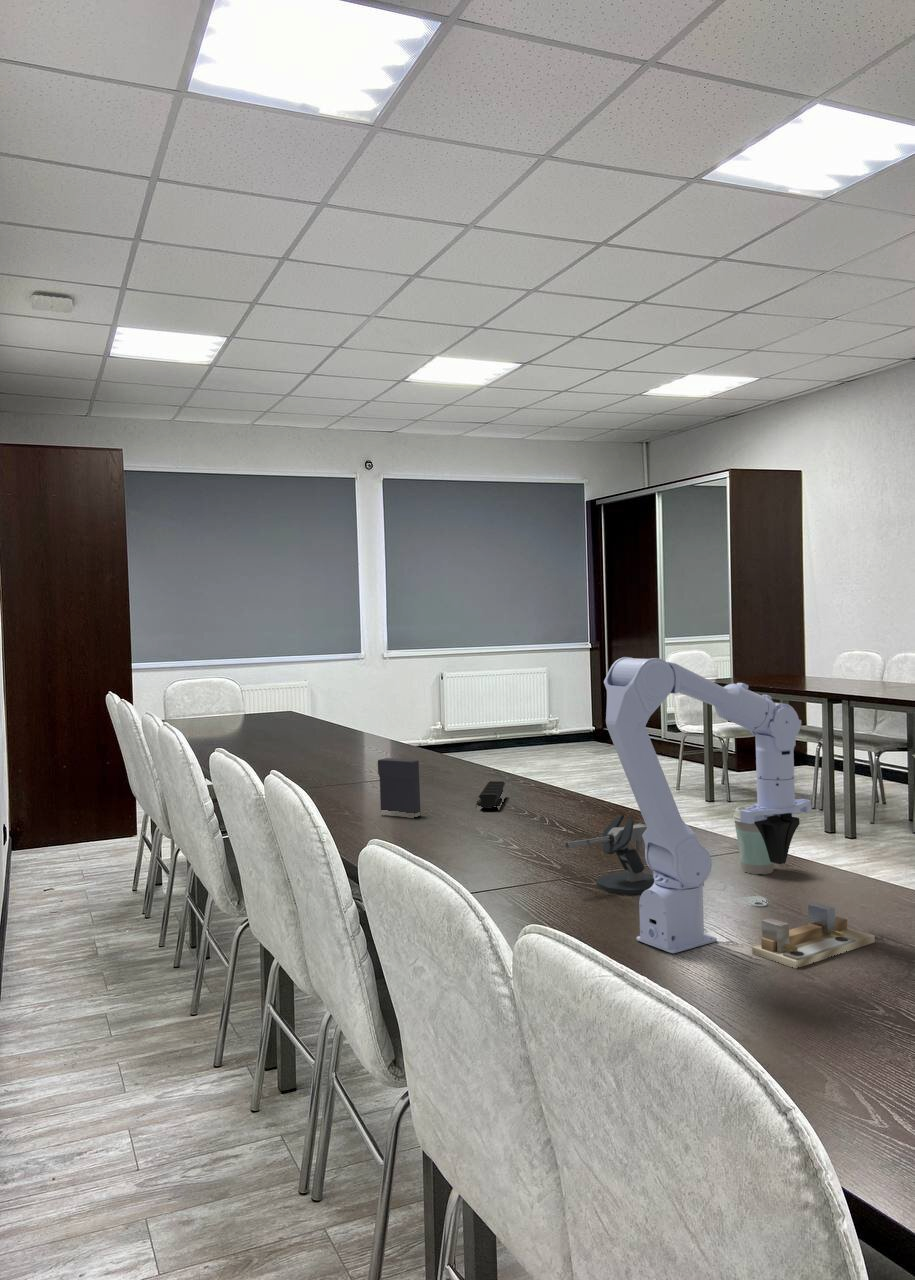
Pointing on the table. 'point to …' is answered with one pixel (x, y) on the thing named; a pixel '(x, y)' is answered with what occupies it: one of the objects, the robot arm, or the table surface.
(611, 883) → the gun turret
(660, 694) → the robot arm
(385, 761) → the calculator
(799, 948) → the jig
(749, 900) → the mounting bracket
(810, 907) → the sliding head
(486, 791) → the rail mount
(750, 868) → the coffee cup
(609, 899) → the table surface
